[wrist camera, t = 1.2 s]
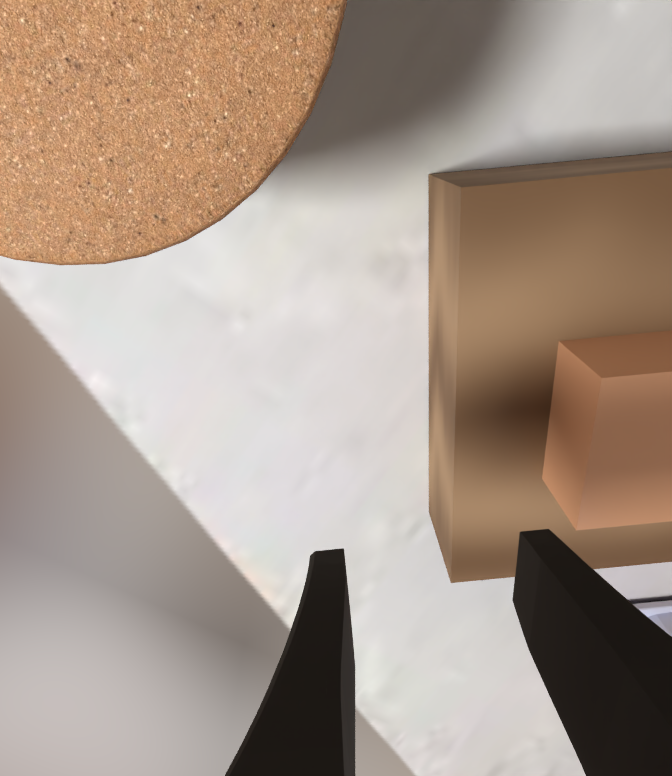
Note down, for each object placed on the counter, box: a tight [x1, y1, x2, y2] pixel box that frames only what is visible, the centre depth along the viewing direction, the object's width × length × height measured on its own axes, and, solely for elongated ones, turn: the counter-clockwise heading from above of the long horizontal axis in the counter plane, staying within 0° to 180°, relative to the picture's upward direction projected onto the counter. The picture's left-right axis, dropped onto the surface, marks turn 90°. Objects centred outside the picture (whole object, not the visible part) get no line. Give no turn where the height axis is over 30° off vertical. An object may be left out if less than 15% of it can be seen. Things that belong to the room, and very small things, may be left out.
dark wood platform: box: [429, 152, 672, 583], centre depth 18 cm, size 14×15×4 cm
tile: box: [542, 330, 672, 530], centre depth 15 cm, size 5×5×2 cm
